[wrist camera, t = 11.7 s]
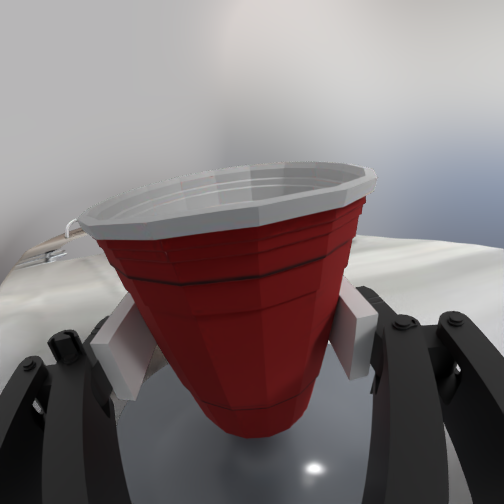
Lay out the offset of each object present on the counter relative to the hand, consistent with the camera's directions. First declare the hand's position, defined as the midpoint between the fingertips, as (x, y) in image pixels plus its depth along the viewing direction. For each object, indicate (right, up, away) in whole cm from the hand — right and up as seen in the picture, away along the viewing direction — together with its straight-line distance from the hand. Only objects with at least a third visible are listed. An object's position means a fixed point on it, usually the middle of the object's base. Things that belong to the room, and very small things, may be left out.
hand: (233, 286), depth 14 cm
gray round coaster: (+1, -10, 0) cm, 10 cm away
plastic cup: (+1, -7, -1) cm, 7 cm away
